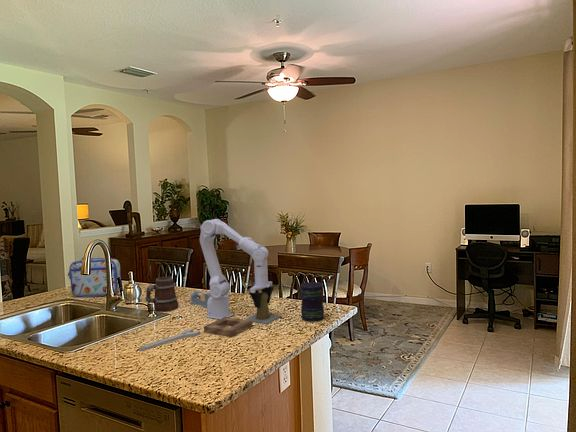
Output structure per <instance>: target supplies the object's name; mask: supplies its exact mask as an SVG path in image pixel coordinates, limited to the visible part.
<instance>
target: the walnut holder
mask: <svg viewBox="0 0 576 432" xmlns="http://www.w3.org/2000/svg"><path fill="white" fill-rule="evenodd" d="M244 319H245V318H237V317H236V318H235V317H231V316H230V317H224V318H221V319H216V320H214V321H212V322H210V323H208V324H206V325H203V333H207V334H210V335H211V334H212V335H217V336H222V337H228V338H234V337H236V336H237V335H239V334H241V333H243V332H245V331H248V330H249V329H250V328H253V322H252V321H250V320H244Z"/></svg>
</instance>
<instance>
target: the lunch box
mask: <svg viewBox="0 0 576 432" xmlns="http://www.w3.org/2000/svg"><path fill="white" fill-rule="evenodd" d="M90 258H91V274H90V275H88V276H82V275H81V274H80V271H81V265H82V260H83V257H82V258H81V259H80V260H75V261H72V262H71V264H70V265H69V268H68V272H67V277H68V279H69V280H70V281H69V282H70V288H71V289H70V290H71V293H72V295H73V296H75V297H78V298H91V297H93V298H95V297H102V296H103V297H104V296H107V295H106V289H107V284H106V267H105V258H103V257H96V258H95V257H93V258H92V257H90ZM110 259H111V264H112V278H113V287H114V294H115V293H117V292H119V291H120V290H119V287H118V282H117V278H118V277H120V278H121V264H120V262H119V260H118V259H116V258H110Z"/></svg>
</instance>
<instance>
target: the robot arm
mask: <svg viewBox="0 0 576 432" xmlns="http://www.w3.org/2000/svg"><path fill="white" fill-rule="evenodd" d="M199 229H200V235H199V244H200V247H201V250H202V254H203V257H204V261H205V263H206V267H207V271H208V274H209V276H210V279H209V283H208V284H209V292H210V294H211V297H210V298H209V299H208V302H207V308H206V309H207V310H206V311H207V316H206V318H208V319H209V318H210V319H215V320H219V319H221V318H224V317H230V318H231V317H232V316H234V313H231V312H230V299H229V292H230V291H231V285H230V283H229V282H228V280H227V278H226V276H225V275H224V274H223V272H222V269H221V265H220V261H219V258H218V255H217V252H216V248H215V245H214V239H215V237H217V235H224V236H226V237H227V238H229V239H231V240H232V241H234V242H235V243H237V245H238V247H239V249H241V250H243V251H244V252H246V254H249V256H251V258H252V260H253V263H254V264H253V267H254V284H253V286H252V287H250V290H249V293H248V294H249V295H250V297H251V299H252V301H253V302H252V303H253V305H254V307H255V309H257V308H260V302H261V296H262V293H261V291H262V292H264V293H267V294H268V299H267V303H268V305H269V304H270V302H271V297H272V293H273V291H274V286H273V281H271V280H270V281H269V277H268V274H269V273H268V256H269V254H270V253H269V250H268V249H267V247H265V246H263V245H261V244H260V243H256V242H255V241H254V240H253V239H252V237H248V236H242V235H240V233H239V232H237V231H235V229H233V228H232V227H230V226H229V225H228V224H227V223H226V222H224V221H222V220H221V219H219V218H214V219H213V218H212V219H210V220H209V219H207V220H205V221H203V223H202V224H201V226H200V227H199Z"/></svg>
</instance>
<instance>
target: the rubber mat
mask: <svg viewBox="0 0 576 432" xmlns="http://www.w3.org/2000/svg"><path fill="white" fill-rule="evenodd" d="M256 314H257V313H255V314H253V315H251V316H249V317H247V318H243V319H244V320H250V321H252V323H255V324H261V325H269V324H270V323H273V322H274V321H276V320H278V319H279V318H282V316H283V315H281V314H275V313H269V315H270V318H269V319H265V320H259V319H256Z"/></svg>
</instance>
